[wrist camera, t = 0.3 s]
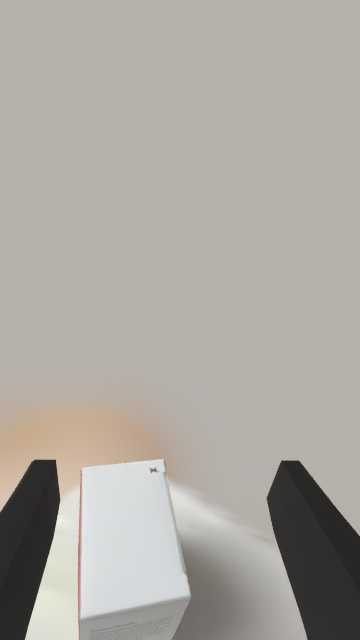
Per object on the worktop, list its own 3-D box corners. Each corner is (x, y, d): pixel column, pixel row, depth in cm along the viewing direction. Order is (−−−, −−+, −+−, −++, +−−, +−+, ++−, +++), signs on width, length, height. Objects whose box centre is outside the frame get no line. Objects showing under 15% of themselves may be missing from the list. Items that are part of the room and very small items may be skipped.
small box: (81, 541, 27) (79, 463, 22) (149, 530, 29) (165, 454, 23) (78, 682, 21) (75, 623, 15) (166, 659, 22) (193, 597, 17)
